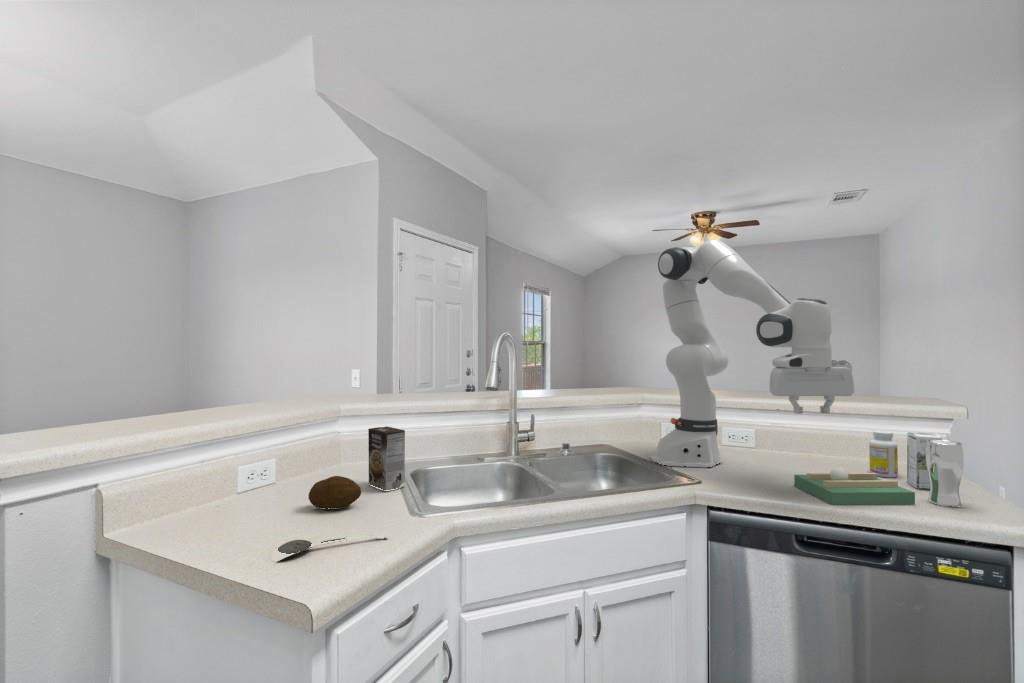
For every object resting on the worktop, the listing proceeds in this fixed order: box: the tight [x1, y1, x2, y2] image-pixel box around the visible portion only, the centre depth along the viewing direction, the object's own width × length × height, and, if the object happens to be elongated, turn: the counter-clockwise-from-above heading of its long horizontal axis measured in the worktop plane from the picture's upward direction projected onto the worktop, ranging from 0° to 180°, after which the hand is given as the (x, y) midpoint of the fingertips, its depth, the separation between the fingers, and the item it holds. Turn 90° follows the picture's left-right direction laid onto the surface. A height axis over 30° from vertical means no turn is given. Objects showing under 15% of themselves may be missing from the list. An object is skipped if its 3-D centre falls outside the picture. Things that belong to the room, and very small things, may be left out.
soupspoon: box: [277, 537, 346, 554], centre depth 95 cm, size 22×3×7 cm
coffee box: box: [367, 426, 406, 490], centre depth 135 cm, size 9×6×16 cm
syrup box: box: [906, 431, 943, 491], centre depth 131 cm, size 6×6×14 cm
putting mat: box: [793, 472, 916, 506], centre depth 126 cm, size 20×16×4 cm
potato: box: [307, 475, 362, 510], centre depth 118 cm, size 8×12×8 cm, turn 102°
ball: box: [829, 466, 849, 480], centre depth 126 cm, size 4×4×4 cm
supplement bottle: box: [868, 430, 899, 479], centre depth 144 cm, size 7×7×13 cm
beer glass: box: [926, 439, 965, 508], centre depth 119 cm, size 7×7×15 cm
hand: (811, 413), depth 126 cm, fingers open, 5 cm apart
